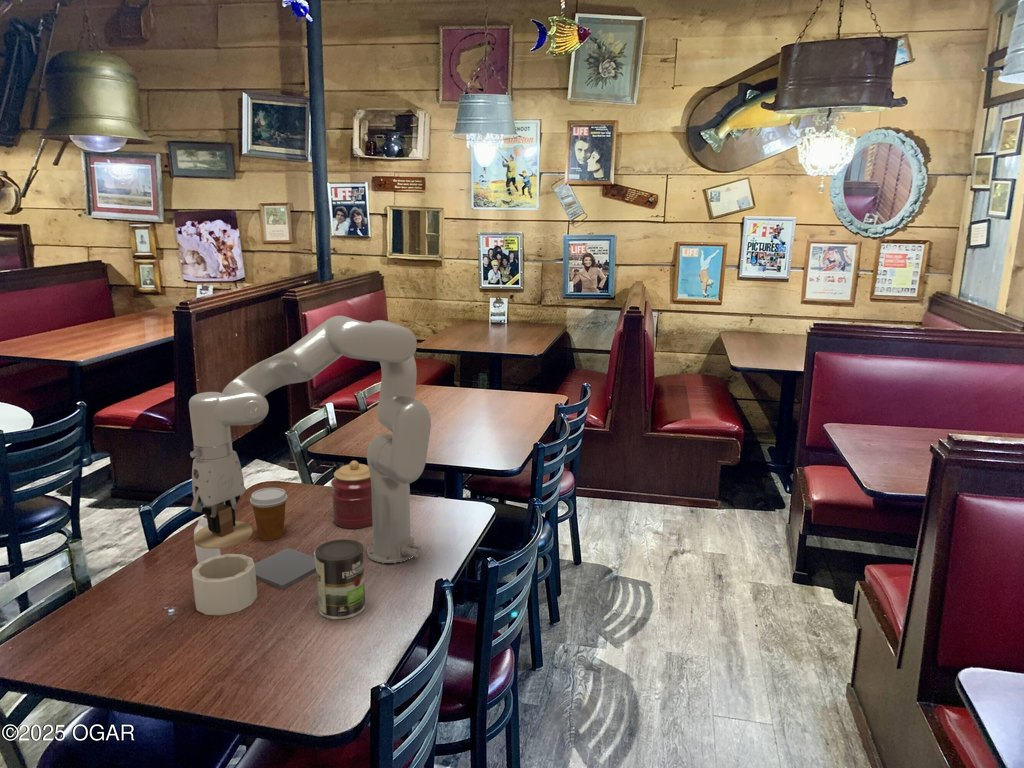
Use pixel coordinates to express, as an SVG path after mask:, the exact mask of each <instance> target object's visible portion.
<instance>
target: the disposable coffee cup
mask: <svg viewBox="0 0 1024 768" xmlns="http://www.w3.org/2000/svg"><path fill="white" fill-rule="evenodd" d="M287 499H288V495H287V493H286V491H285V489H283V488H279V487H265V488H260V489H257V490H255V491H253V492H252V493H251V497H250V498H249V503H250V504H251V505H252V511H253V515H254V518H255V519H254V520H255V525H256V527H257V528H256V530H257V533H258V537H259V539H260V540H264V541H273V540H278V539H280V538H282V537H283V536H284V532H285V531H284V530H285V528H284V527H285V519H286V517H285V516H286V505H287V504H286V503H287Z"/></svg>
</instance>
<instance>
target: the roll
mask: <svg viewBox="0 0 1024 768" xmlns="http://www.w3.org/2000/svg"><path fill="white" fill-rule="evenodd" d="M206 526H208V522H207V517H203V515H201V516H199V517H198V521H197V524H196V526H195V528H194V530H193V536H194V535H195V534H196V532H198V531H199V530H200V529H202V528H204V527H206ZM194 550H195V556H196V562H197V564H198V563H200V562H202V561H204V560H207V559H209V558H211V557H215V556H220V555H222V554H221V548H219V549H207V548H202V547H199V546H197V545H196V544H195V543H194Z"/></svg>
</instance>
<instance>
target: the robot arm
mask: <svg viewBox="0 0 1024 768" xmlns="http://www.w3.org/2000/svg"><path fill="white" fill-rule="evenodd" d="M417 347H418V342H417V338H416V336H415V334H414V333H413V331H412V330H411V329H409V328H408V327H406V326H403V325H400V324H396V323H394V322H392V321H386V320H384V319H383V320H381V319H377V320H373V321H370V322H366V321H361V320H357V319H354V318H351V317H348V316H345V315H335V316H332V317H329V318H328V319H326V320H325V321H324V322H322V323H321V324H320V325H318V326H316V327H315V328H314V329H313V330H311V331H310V332H309V333H306V335H304V336H303V337H301V339H299V340H297V341H296V342H295V343H293V344H292V345H291V346H290V347H288V348H286V349H284V350H283V351H280V352H279V353H276V354H274V355H272V356H271V357H268V358H266V359H264V360H261V361H260V362H257V363H256V364H254V365H252V366H250V367H249V368H248V369H246V370H244V371H243V372H242V373H240V375H237V377H235V378H234V379H233V380H231V381H230V382H229V383H228V384H226V386H225V387H224V389H222V391H221V392H218V391H206V392H200V393H197V394H194V395H192V396H191V397H190V399H189V401H188V408H189V417H190V424H191V433H192V441H193V450H192V451H190V453H189V455H190V458H192V459H193V458H194V459H193V461H192V466H191V467H192V470H191V487H192V497H193V500H192V503H191V506H190V510H191V511H192V512H196V513H201V514H203V515H204V516H206V519H207V522H208V528H209V530H210V531H211V532H214V533H217V534H219V533H220V532H221V531H220V522H219V516H216V506H217V505H219V504H225V505H228V506H231V510H232V519H233V527H234V526H236V523H235V521H236V513H235V512H236V511H235V510H236V509H237V504H238V502H239V500H240V499H241V497H242V496H243V495H244V493H245V492H246V491H247V488H246V487H245V482H244V475H243V469H242V466H241V462H240V459H239V456H238V453H237V451H235V450H233V442H232V433H231V432H232V431H231V426H252V425H256V424H258V423H260V422H261V421H263V420H264V419H265V418H266V417H267V415H268V413H269V410H270V409H269V402H268V400H267V398H266V396H267V395H268V394H269V393H271V392H273V391H275V390H277V389H279V388H281V387H283V386H286V385H293V384H299V383H305V382H308V381H310V380H312V379H313V378H315V377H316V376H317V375H319V374H320V373H321V372H323V371H324V370H325V369H327V368H328V367H329V366H330V365H332V364H333V363H334V362H336V361H337V360H338V359H339V358H342V356H344V357H345V358H346V357H347V358H349V359H355V360H361V361H369V362H370V361H372V362H379V364H380V367H381V377H380V378H381V380H380V381H381V382H380V389H379V397H378V403H377V410H376V416H377V420H378V422H379V424H380V425H381V426H382V427H384V428H385V429H387V430H388V431H390V432H392V433H386V432H385V433H381V434H377V435H375V437H373V438H372V440H370V442H369V444H368V447H367V449H366V460H367V461H366V462H367V466H368V467H369V473H370V479H371V493H372V523H373V524H372V542H373V543H371V544H370V545H369V546H368V547H367V550H366V553H367V554H366V555H367V557H368V558H369V559H370V560H371V561H373V560H374V561H373V562H375V561H377V562H376V563H378V562H382V563H381V564H384V563H394V562H400V563H402V562H401V561H404V560H406V559H409V558H411V557H412V556H413V557H412V558H418V557H419V556H420V551H422V546H421V545H418V544H416V543H415V537H414V536H412V535H411V534H412V533H411V497H410V495H411V493H410V492H411V489H410V488H411V487H410V484H412V483H413V482H415V481H417V480H418V479H419V478H420V476H421V475H422V474H423V472H424V469H425V467H426V463H427V456H428V451H429V450H428V449H429V442H430V435H431V430H432V429H431V428H432V427H431V426H432V419H431V414H430V411H429V409H428V407H427V406H426V405H425V404H424V403H423V402H421V401H420V400H418V399H416V388H417V374H418V371H417V362H416V359H415V355H414V354H415V352H416V351H417ZM412 558H411V559H412ZM409 560H410V559H409ZM404 562H405V561H404ZM394 564H395V563H394Z"/></svg>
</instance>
